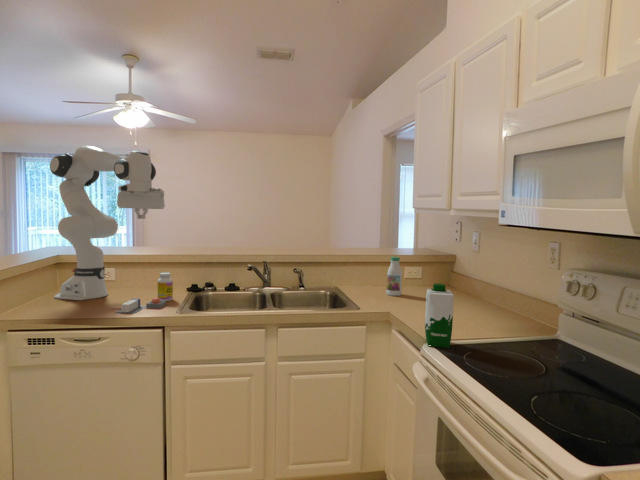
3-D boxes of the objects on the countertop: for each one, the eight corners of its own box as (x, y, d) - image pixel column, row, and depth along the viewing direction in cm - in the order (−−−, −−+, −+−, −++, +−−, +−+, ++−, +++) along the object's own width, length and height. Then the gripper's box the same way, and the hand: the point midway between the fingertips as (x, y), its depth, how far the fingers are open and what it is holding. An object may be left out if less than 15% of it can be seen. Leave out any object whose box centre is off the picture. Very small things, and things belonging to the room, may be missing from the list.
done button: (150, 306, 171) (150, 299, 171) (154, 304, 175) (154, 297, 174) (158, 306, 171) (158, 299, 171) (161, 304, 175) (161, 297, 174)
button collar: (146, 308, 170) (146, 303, 170) (152, 304, 176) (152, 300, 176) (160, 308, 170) (159, 303, 170) (165, 304, 176) (165, 300, 176)
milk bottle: (390, 292, 212) (391, 255, 210) (403, 294, 207) (405, 257, 206) (383, 294, 206) (385, 257, 204) (397, 297, 201) (398, 258, 199)
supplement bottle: (167, 302, 181) (167, 274, 180) (154, 301, 182) (154, 274, 181) (175, 298, 188) (175, 272, 187) (163, 297, 189) (162, 271, 188)
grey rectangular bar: (128, 312, 162) (128, 304, 162) (121, 312, 162) (121, 304, 162) (140, 306, 172) (140, 298, 172) (133, 305, 172) (133, 298, 172)
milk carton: (448, 340, 137) (451, 283, 135) (453, 349, 128) (456, 289, 126) (423, 338, 138) (425, 282, 136) (425, 347, 129) (428, 287, 128)
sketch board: (115, 312, 162) (115, 312, 162) (128, 306, 173) (128, 305, 173) (134, 313, 162) (134, 312, 162) (146, 306, 173) (146, 305, 173)
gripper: (166, 188, 177) (167, 219, 179) (122, 187, 178) (122, 217, 179) (160, 188, 171) (161, 219, 172) (114, 186, 172) (115, 218, 173)
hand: (141, 218), depth 176 cm, fingers closed
